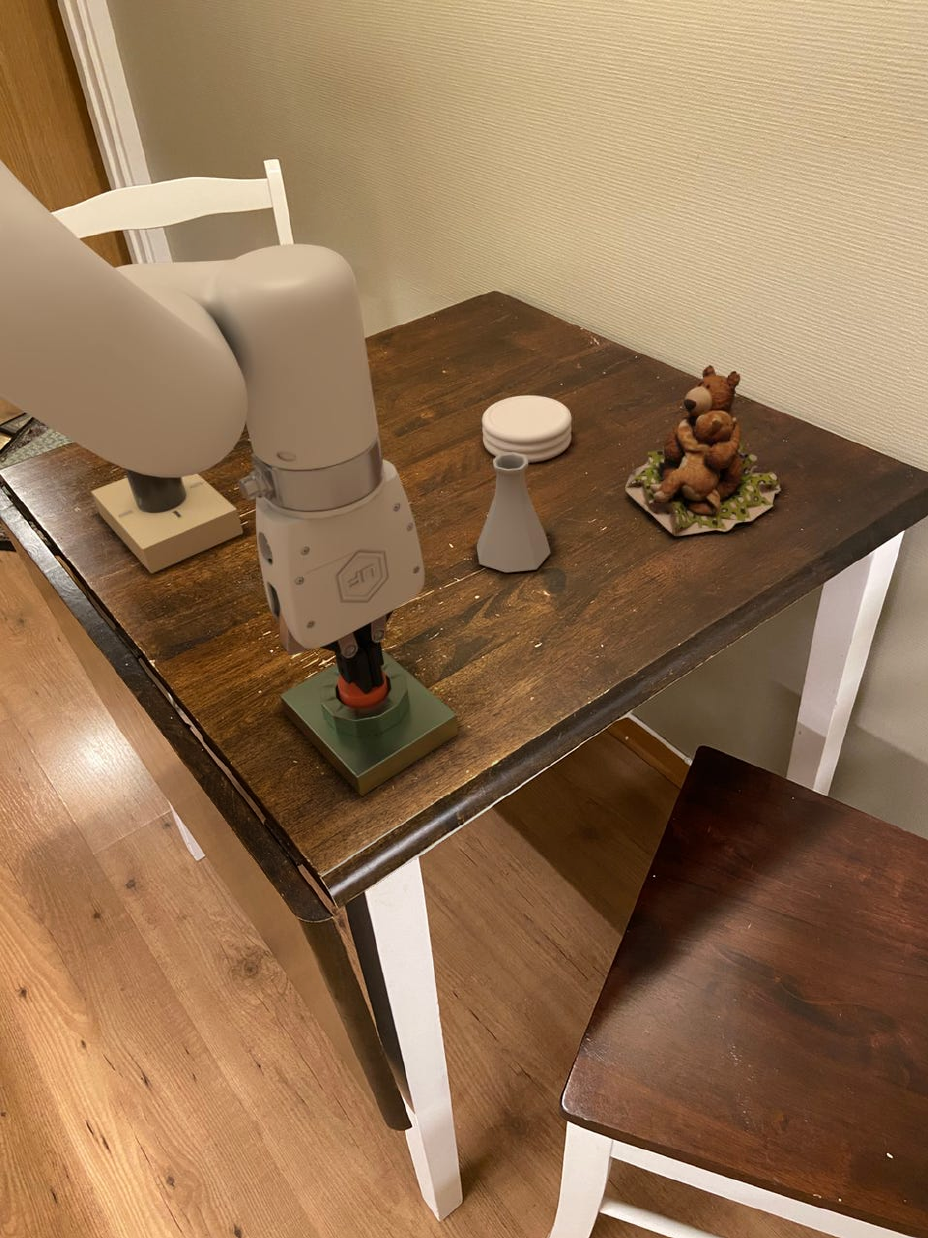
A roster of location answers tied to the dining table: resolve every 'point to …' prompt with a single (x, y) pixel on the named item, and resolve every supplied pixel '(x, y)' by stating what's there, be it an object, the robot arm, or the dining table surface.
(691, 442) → the bear figurine
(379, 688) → the button
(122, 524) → the panel
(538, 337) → the dining table surface
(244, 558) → the dining table surface
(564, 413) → the cream round flat cylinder
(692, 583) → the dining table surface
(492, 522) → the flask
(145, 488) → the knob
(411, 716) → the button block
